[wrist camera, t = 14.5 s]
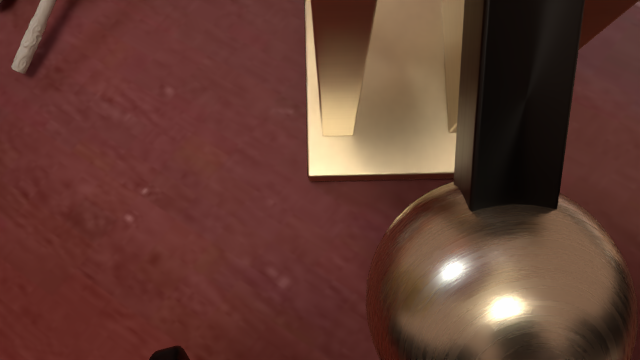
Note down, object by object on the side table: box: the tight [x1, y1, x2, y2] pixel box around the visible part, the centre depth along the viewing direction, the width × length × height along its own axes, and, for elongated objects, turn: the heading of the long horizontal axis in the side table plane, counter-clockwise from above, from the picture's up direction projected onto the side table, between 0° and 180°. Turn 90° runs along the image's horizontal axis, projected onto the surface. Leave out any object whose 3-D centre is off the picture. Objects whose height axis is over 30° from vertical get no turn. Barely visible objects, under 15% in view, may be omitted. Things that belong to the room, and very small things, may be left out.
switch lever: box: [366, 0, 638, 360], centre depth 7 cm, size 11×4×4 cm, turn 1°
